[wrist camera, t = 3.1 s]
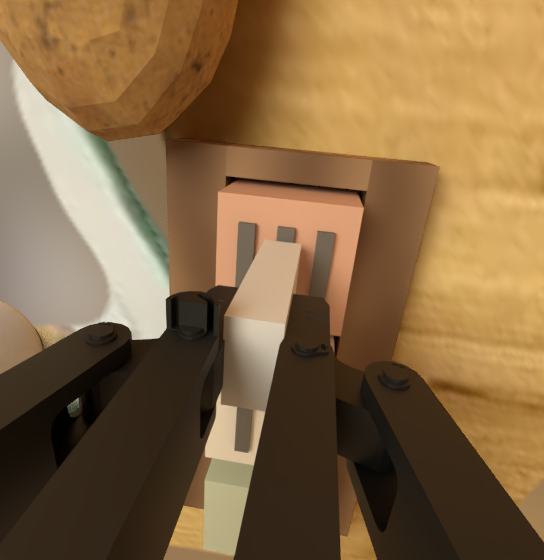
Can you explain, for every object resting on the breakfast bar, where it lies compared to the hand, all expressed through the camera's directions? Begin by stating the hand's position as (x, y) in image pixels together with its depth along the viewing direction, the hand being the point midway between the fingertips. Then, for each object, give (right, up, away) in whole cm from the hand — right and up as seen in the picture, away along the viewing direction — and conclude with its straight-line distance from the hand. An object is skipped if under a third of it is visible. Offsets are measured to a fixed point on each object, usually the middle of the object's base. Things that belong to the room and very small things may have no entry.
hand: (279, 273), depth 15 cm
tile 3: (+1, +2, +4) cm, 5 cm away
